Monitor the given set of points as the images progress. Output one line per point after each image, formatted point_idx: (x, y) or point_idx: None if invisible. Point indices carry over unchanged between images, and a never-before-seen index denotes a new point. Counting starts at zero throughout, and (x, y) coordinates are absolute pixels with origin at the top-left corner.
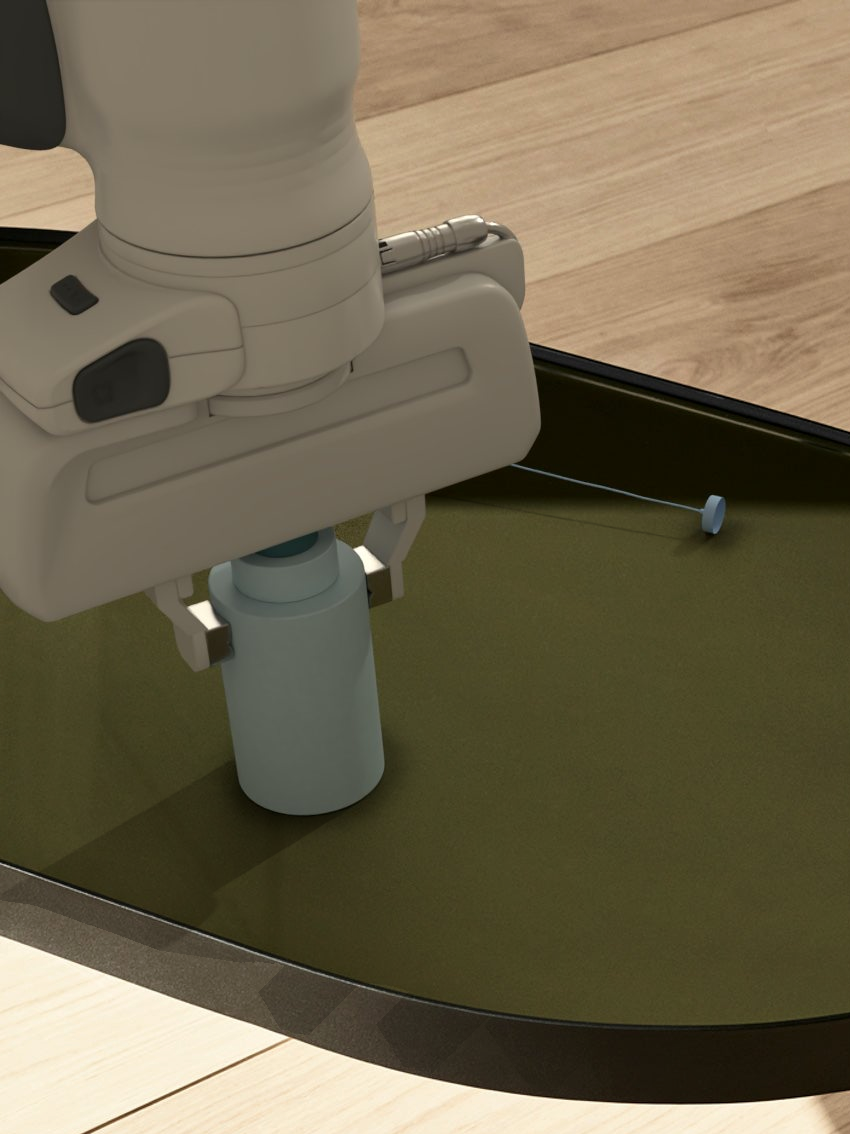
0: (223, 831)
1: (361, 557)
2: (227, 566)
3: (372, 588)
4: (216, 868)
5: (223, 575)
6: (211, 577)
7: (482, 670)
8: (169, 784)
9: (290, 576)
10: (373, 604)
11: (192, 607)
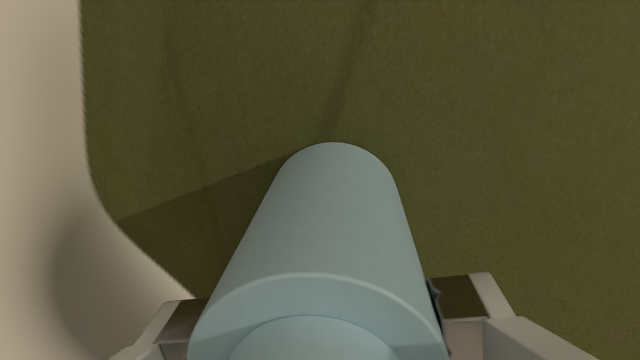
0: None
1: (460, 347)
2: (224, 333)
3: None
4: None
5: (213, 349)
6: (193, 346)
7: (546, 130)
8: (214, 169)
9: None
10: None
11: (166, 347)
